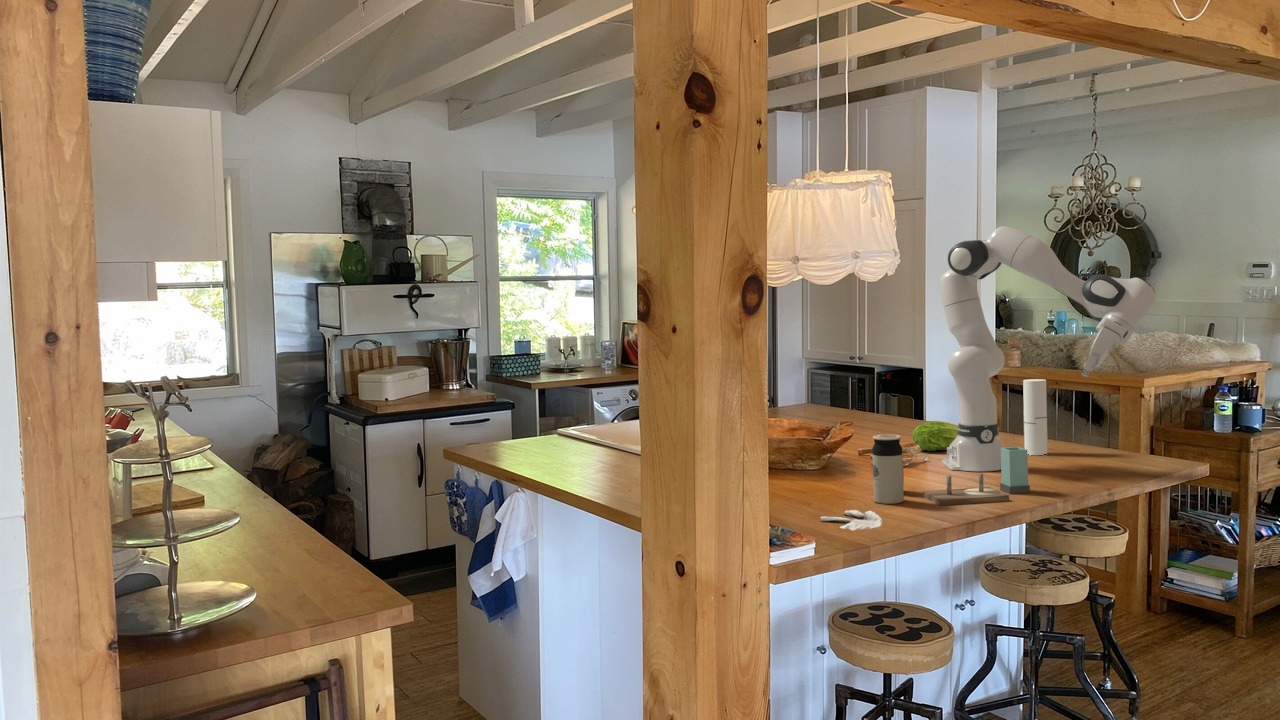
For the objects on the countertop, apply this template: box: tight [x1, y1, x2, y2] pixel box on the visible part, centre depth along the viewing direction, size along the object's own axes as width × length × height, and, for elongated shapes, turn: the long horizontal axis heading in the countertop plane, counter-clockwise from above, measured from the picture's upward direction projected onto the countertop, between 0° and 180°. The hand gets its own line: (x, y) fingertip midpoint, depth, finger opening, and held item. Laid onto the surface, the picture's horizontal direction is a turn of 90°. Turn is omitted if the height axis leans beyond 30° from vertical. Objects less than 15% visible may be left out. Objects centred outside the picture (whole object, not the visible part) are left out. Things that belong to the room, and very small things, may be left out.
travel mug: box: [871, 434, 905, 505], centre depth 270 cm, size 8×8×18 cm
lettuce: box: [912, 420, 959, 452], centre depth 349 cm, size 12×24×13 cm
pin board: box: [923, 473, 1010, 506], centre depth 269 cm, size 12×19×6 cm, turn 95°
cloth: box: [819, 509, 884, 531], centre depth 252 cm, size 20×22×2 cm
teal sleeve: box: [999, 446, 1031, 495], centre depth 276 cm, size 6×6×12 cm
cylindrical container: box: [1022, 378, 1049, 456], centre depth 332 cm, size 7×7×25 cm
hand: (1084, 372), depth 278 cm, fingers open, 8 cm apart
